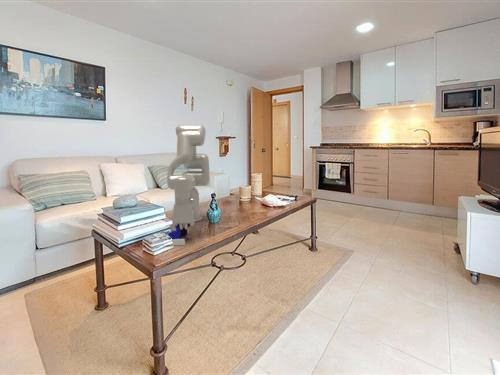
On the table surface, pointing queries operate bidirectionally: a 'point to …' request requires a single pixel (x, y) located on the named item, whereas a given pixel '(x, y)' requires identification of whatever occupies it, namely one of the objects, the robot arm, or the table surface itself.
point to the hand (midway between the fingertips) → (184, 236)
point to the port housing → (178, 241)
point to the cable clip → (175, 233)
